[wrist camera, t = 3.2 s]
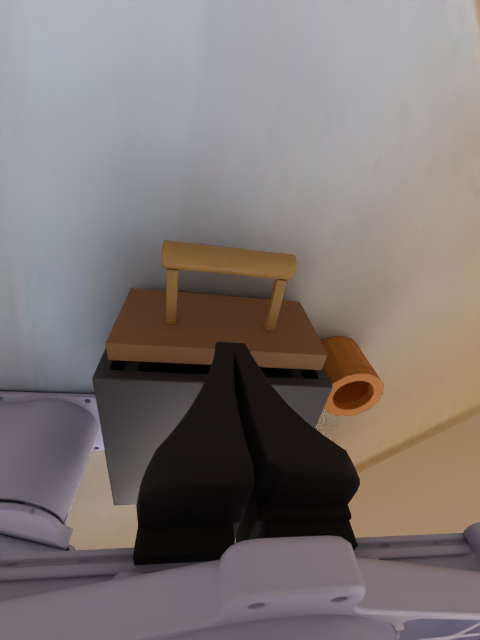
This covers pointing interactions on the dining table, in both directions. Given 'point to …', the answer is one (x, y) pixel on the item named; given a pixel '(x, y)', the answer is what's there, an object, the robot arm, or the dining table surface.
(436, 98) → the dining table surface
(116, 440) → the cabinet
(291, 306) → the drawer
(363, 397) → the jar
